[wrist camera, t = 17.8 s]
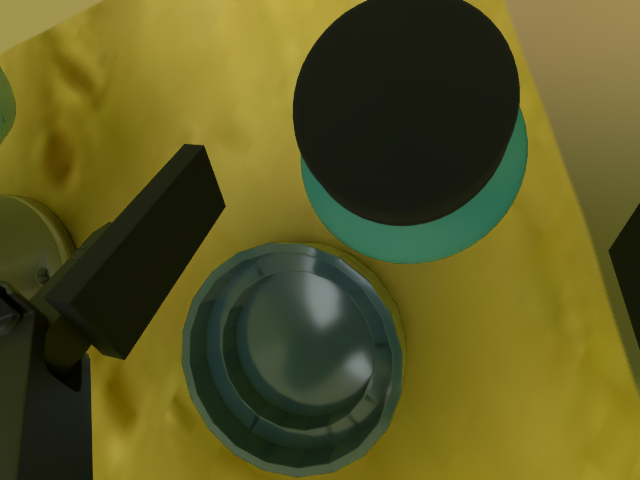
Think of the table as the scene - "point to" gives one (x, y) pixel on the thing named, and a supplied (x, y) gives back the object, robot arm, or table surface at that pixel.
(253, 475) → the table surface
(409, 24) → the beverage bottle
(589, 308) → the table surface
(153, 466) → the table surface
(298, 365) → the dish
